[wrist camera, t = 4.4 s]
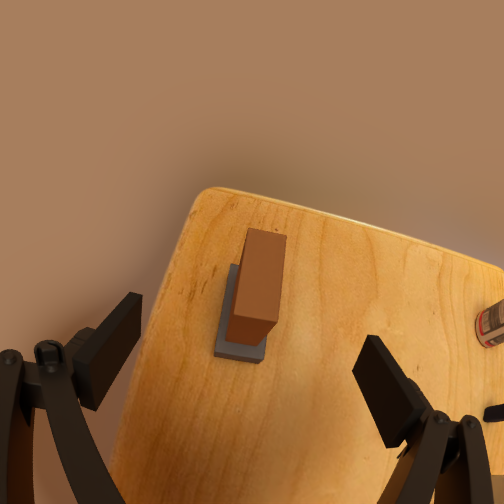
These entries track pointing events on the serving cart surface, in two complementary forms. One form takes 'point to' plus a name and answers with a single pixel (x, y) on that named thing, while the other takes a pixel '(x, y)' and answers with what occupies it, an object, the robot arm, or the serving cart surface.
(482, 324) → the pill bottle
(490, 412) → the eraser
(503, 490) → the can
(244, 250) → the chalk eraser
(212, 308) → the serving cart surface
